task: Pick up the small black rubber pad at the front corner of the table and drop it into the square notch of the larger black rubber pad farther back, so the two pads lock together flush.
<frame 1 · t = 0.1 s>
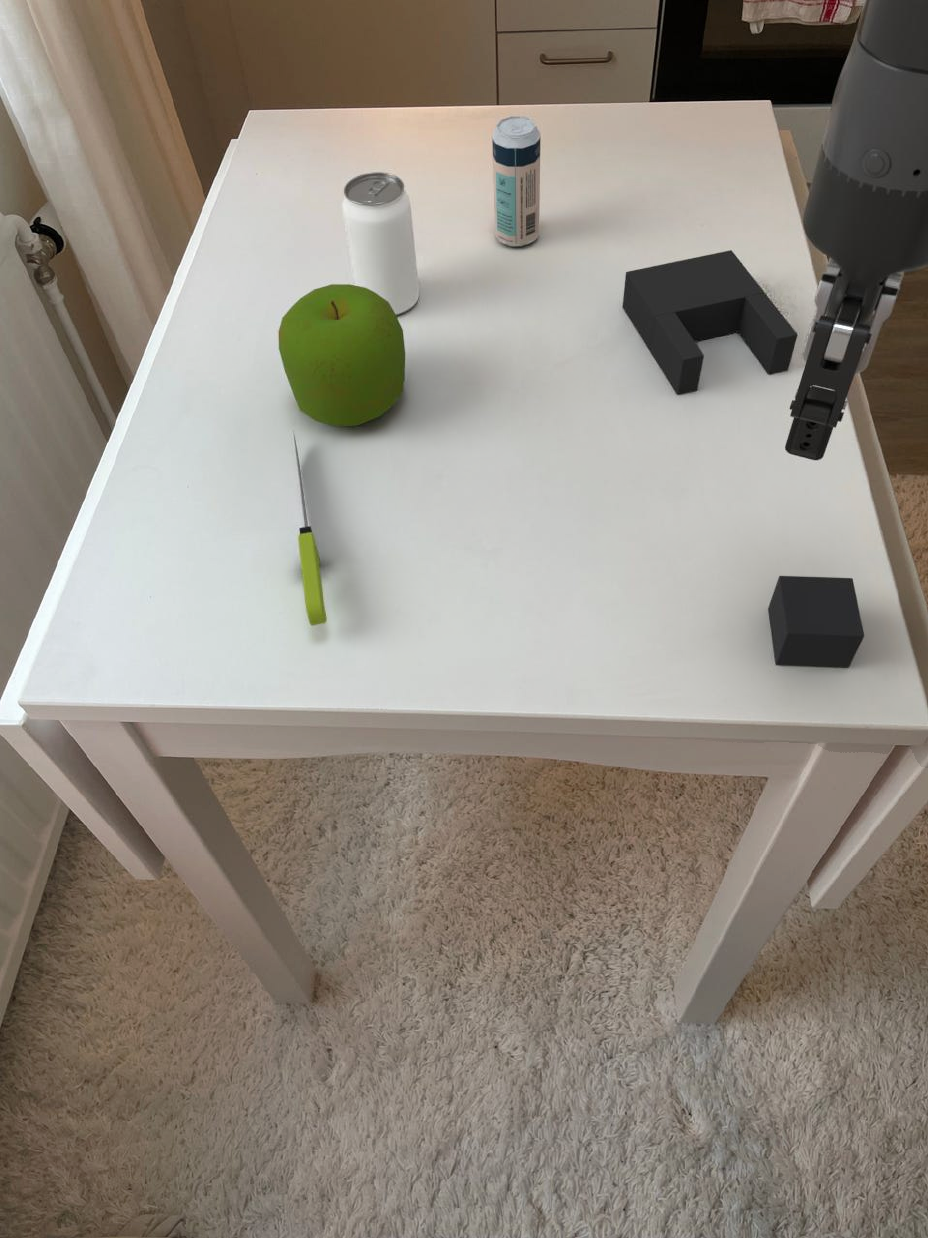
hand: (819, 407, 58), 19 cm above the table, tool pointing down, fingers open, 8 cm apart
base pad: (702, 337, 92), on the table
beer can: (516, 238, 104), on the table
pad piece: (807, 637, 71), on the table
kitchen knife: (309, 535, 79), on the table
apple: (352, 401, 89), on the table
can: (388, 301, 98), on the table
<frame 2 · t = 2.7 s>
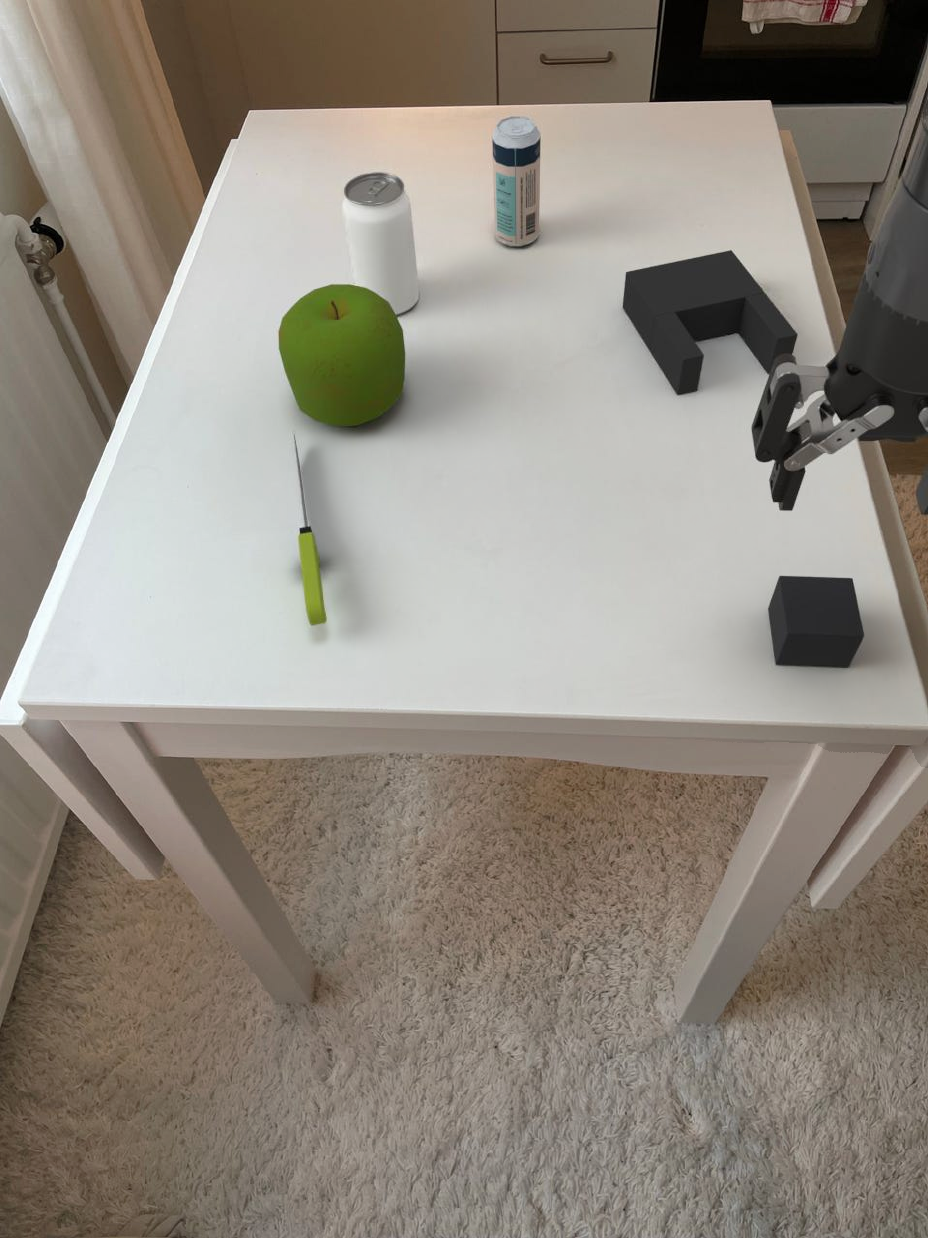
hand: (853, 503, 60), 14 cm above the table, tool pointing down, fingers open, 8 cm apart
nothing on the table moved.
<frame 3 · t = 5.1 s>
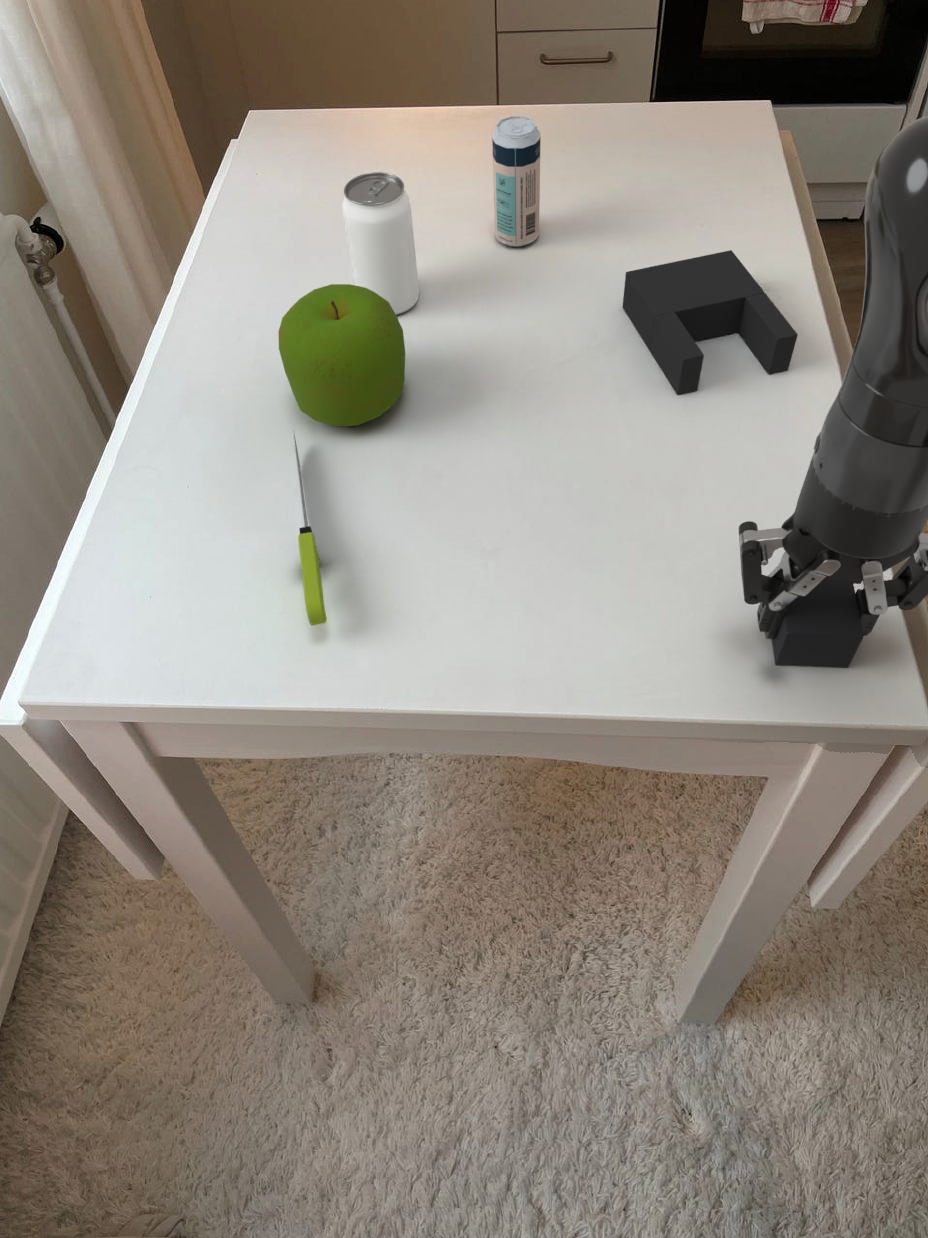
hand: (810, 630, 70), 1 cm above the table, tool pointing down, fingers closed on pad piece, 5 cm apart
pad piece: (806, 637, 71), on the table, touching gripper
everything else where it was.
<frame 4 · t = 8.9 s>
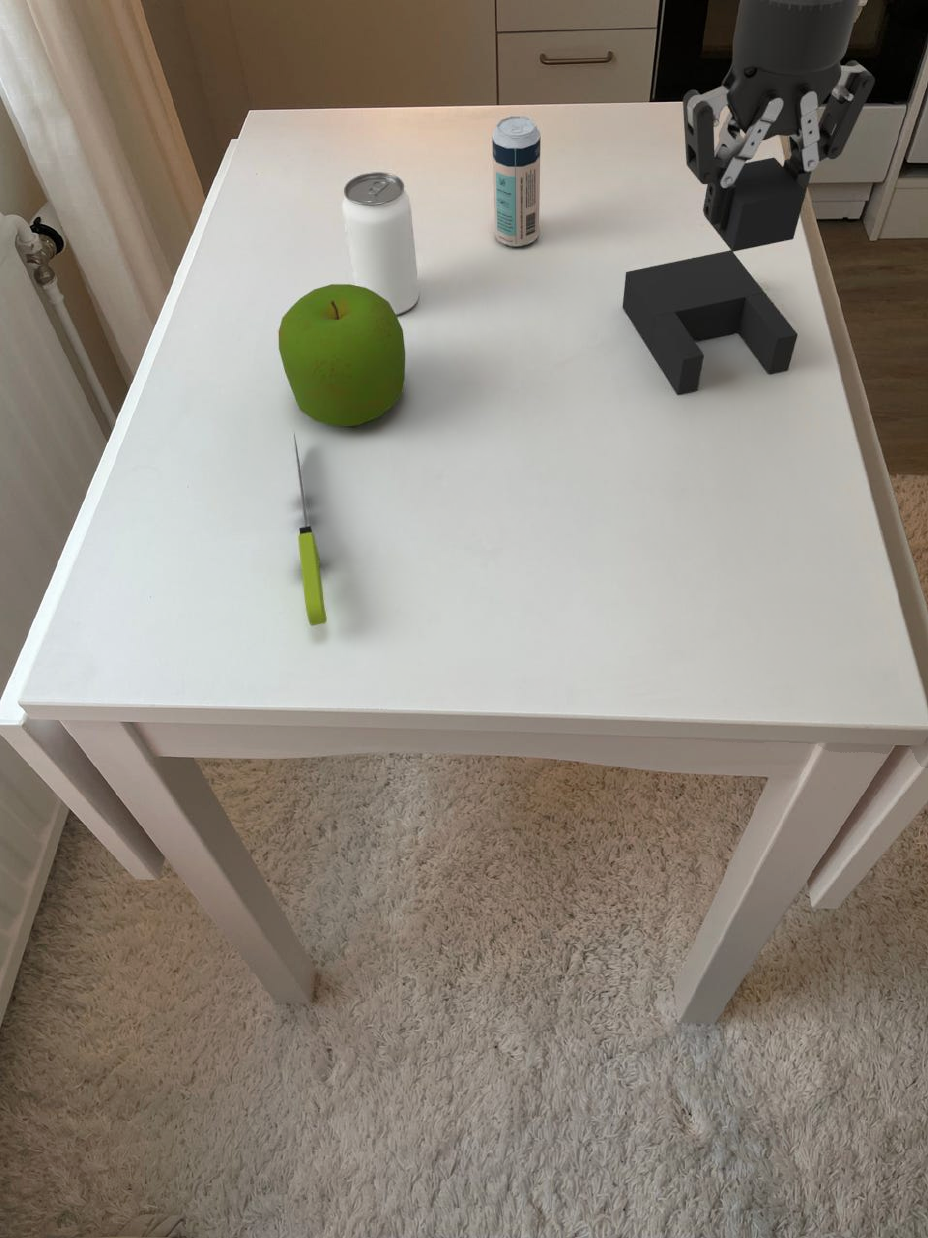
hand: (751, 217, 75), 16 cm above the table, tool pointing down, fingers closed on pad piece, 5 cm apart
pad piece: (748, 227, 76), point 15 cm above the table, touching gripper
everything else where it was.
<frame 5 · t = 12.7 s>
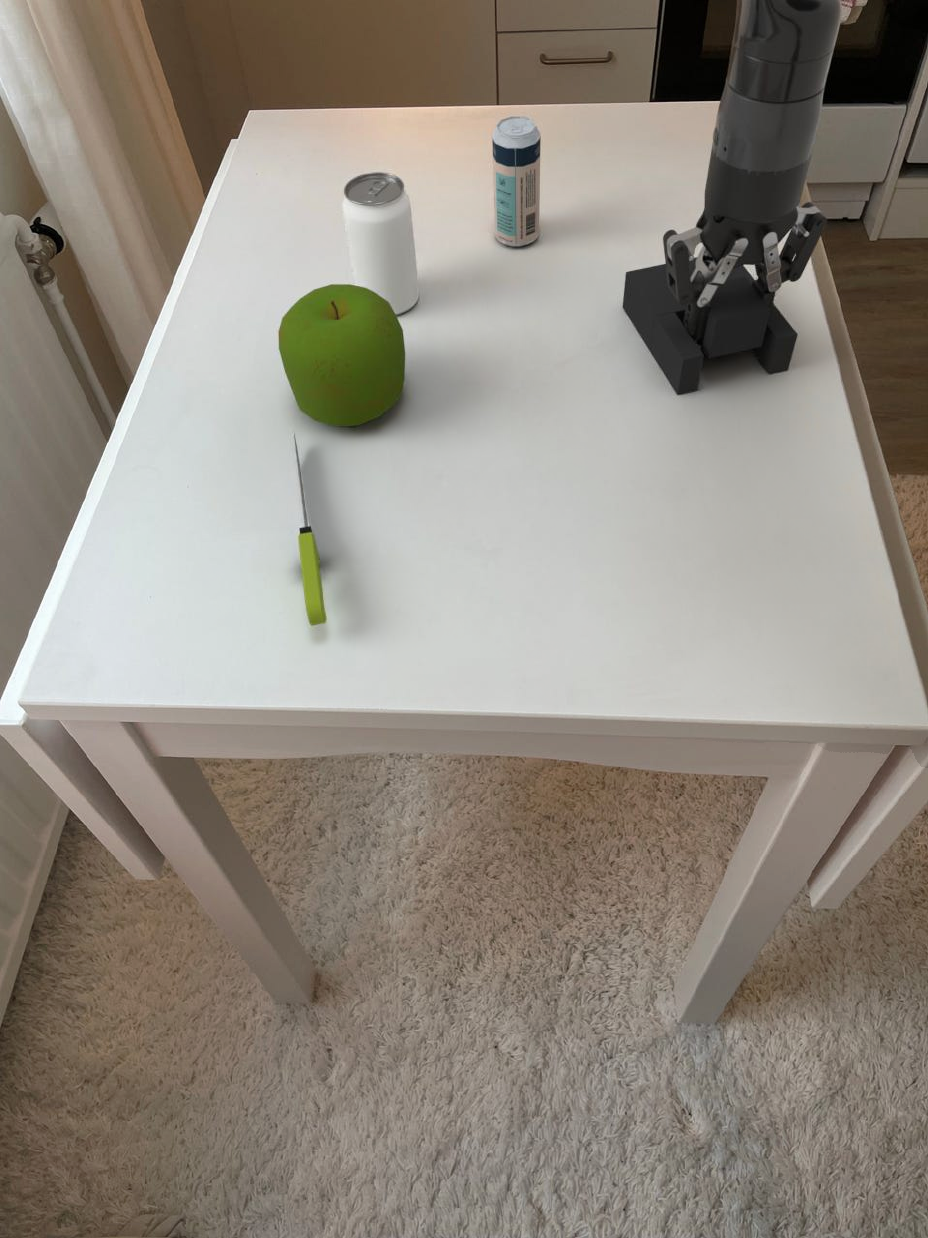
hand: (725, 327, 87), 4 cm above the table, tool pointing down, fingers closed on pad piece, 5 cm apart
pad piece: (723, 335, 87), point 3 cm above the table, touching gripper
everything else where it was.
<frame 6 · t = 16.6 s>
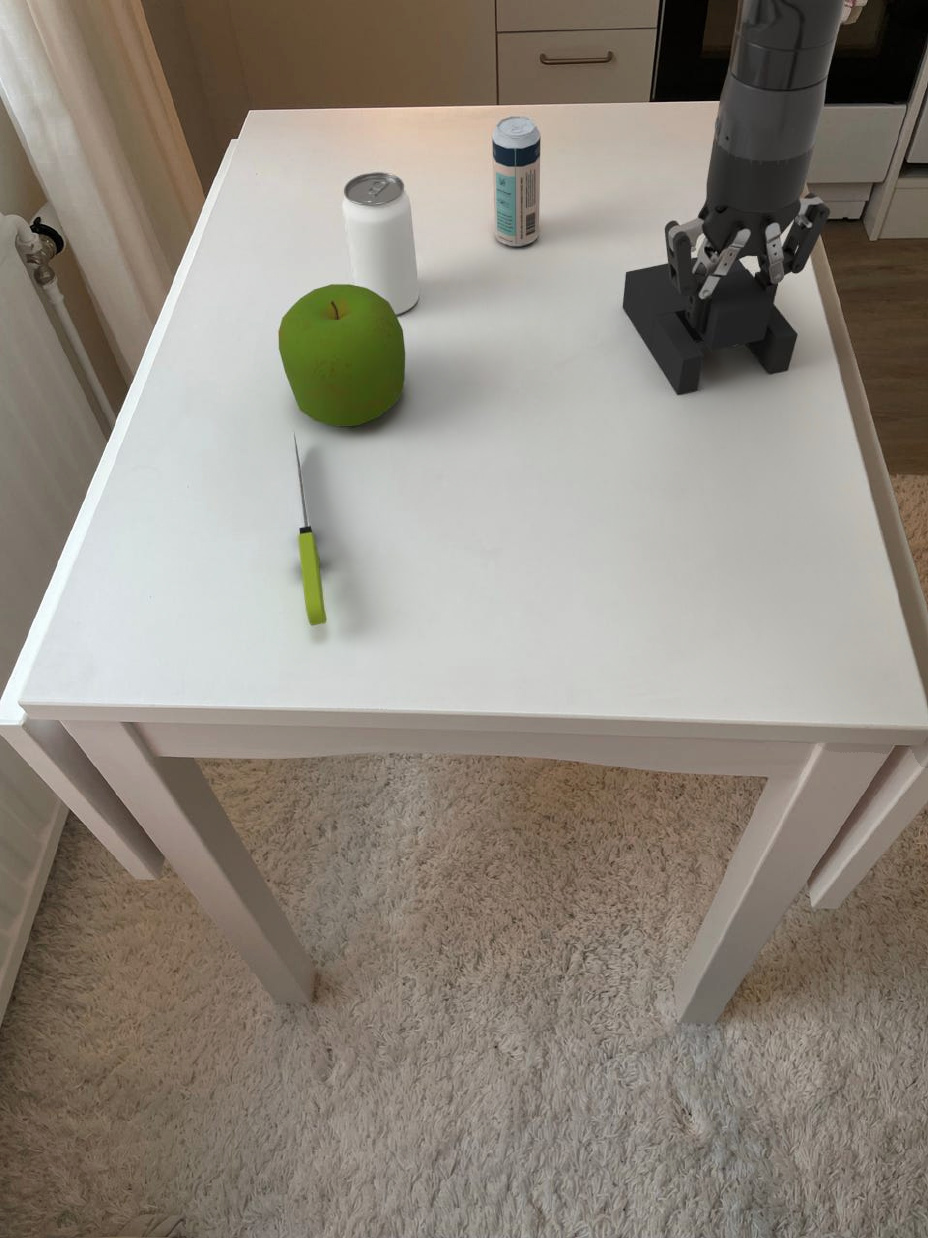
hand: (727, 319, 86), 5 cm above the table, tool pointing down, fingers closed on pad piece, 5 cm apart
pad piece: (725, 328, 87), point 4 cm above the table, touching gripper
everything else where it was.
when the fingers open (5 cm above the table, at t = 20.2 s): pad piece drops 4 cm, on the table.
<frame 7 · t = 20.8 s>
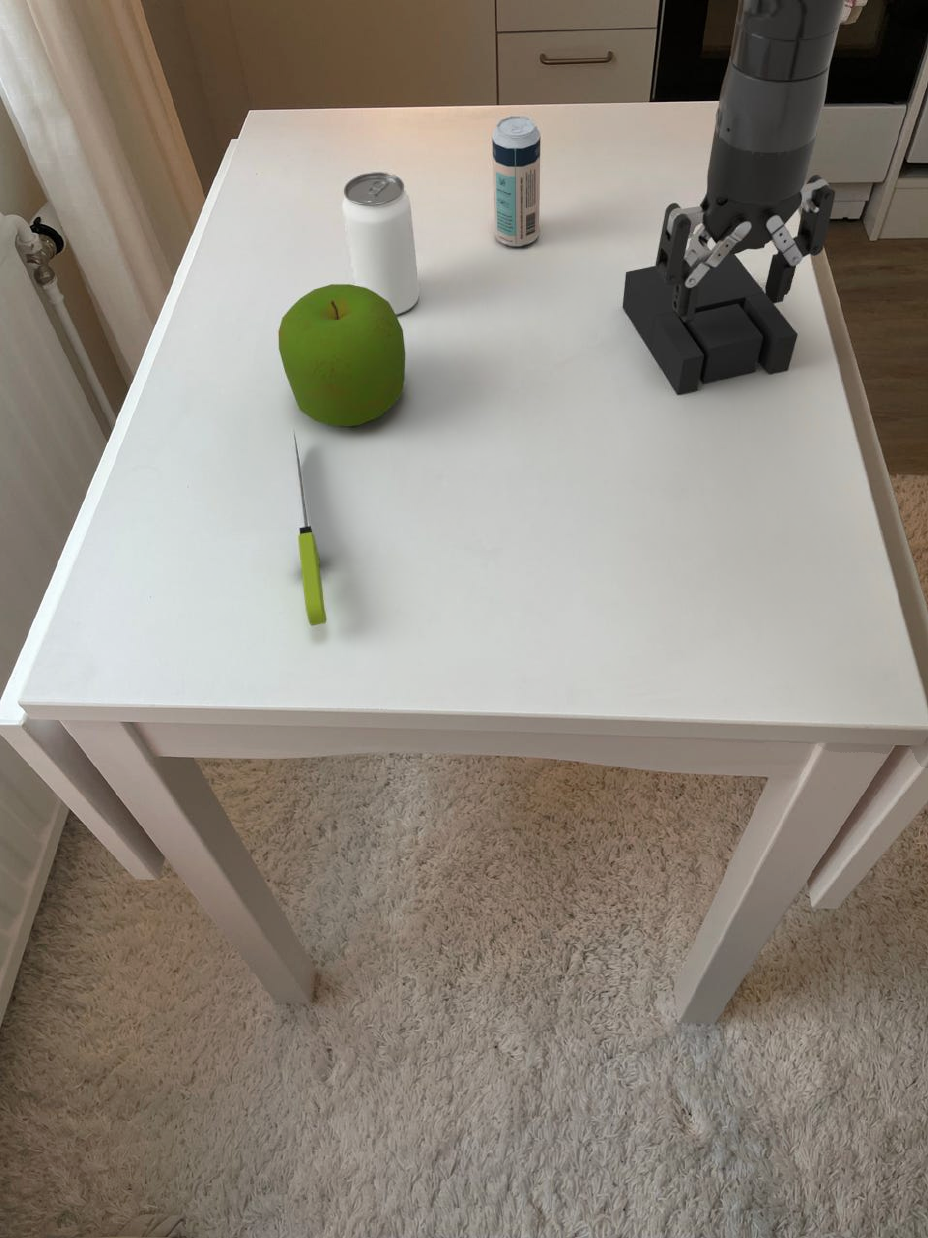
hand: (729, 307, 85), 6 cm above the table, tool pointing down, fingers open, 8 cm apart
pad piece: (717, 361, 90), on the table
everything else where it was.
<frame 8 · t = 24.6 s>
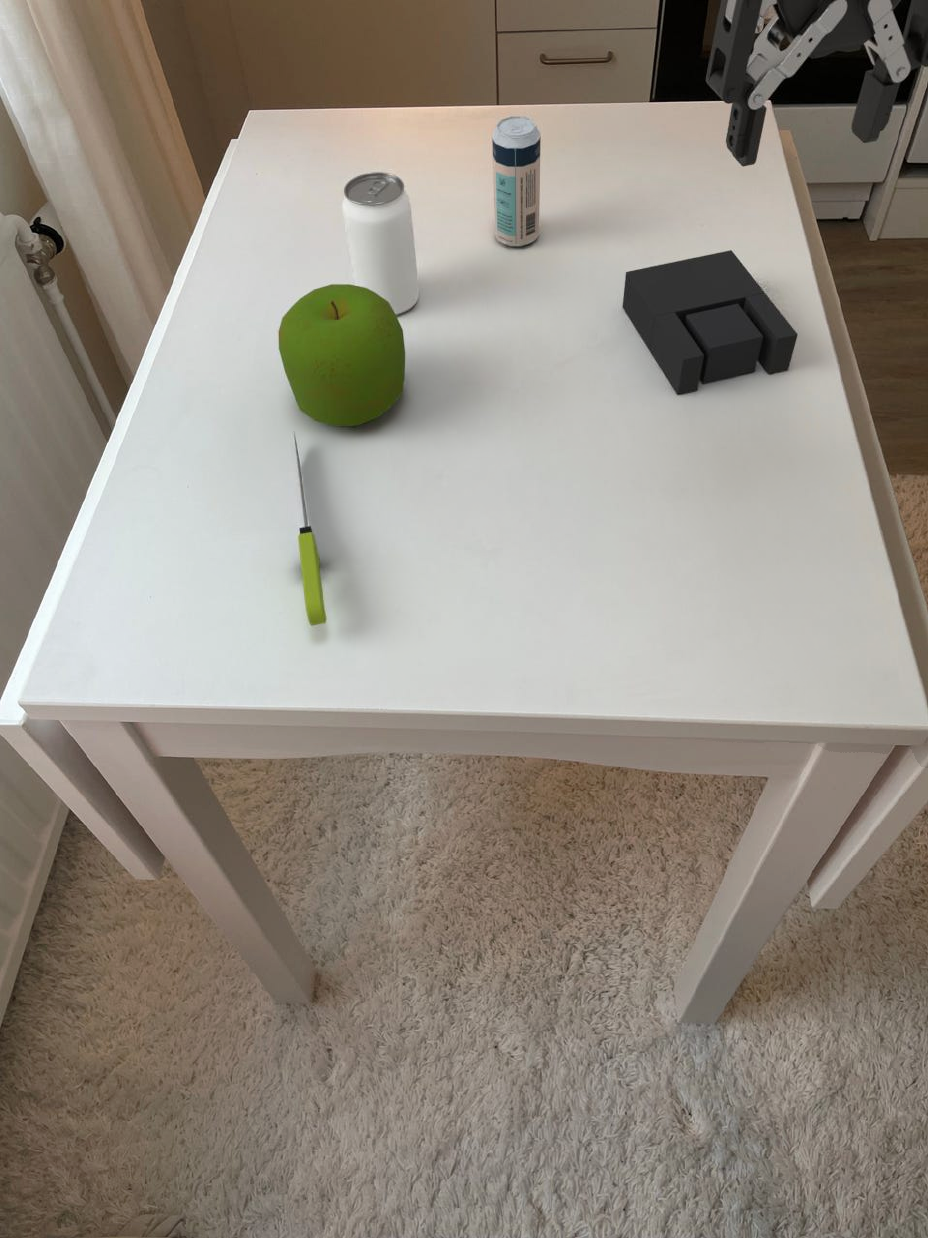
hand: (803, 148, 62), 26 cm above the table, tool pointing down, fingers open, 8 cm apart
nothing on the table moved.
at the end: pad piece 0.1 cm from the target spot on the base pad, point 0.0 cm above the base pad's base; pad piece tilted 0°; the gripper is holding nothing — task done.
